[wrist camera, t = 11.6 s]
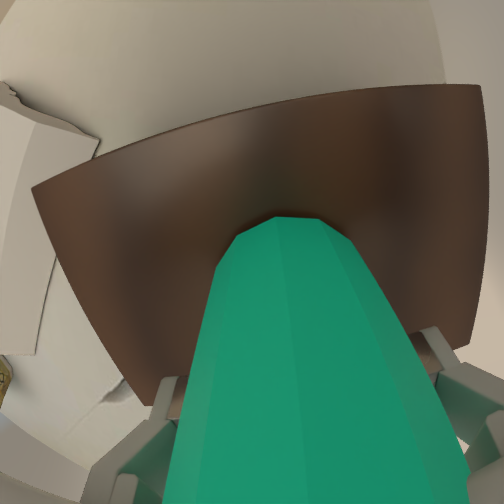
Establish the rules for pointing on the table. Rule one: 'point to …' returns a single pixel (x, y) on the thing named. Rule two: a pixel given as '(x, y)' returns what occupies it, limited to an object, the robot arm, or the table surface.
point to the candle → (308, 385)
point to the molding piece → (28, 213)
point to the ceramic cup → (4, 377)
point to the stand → (276, 212)
